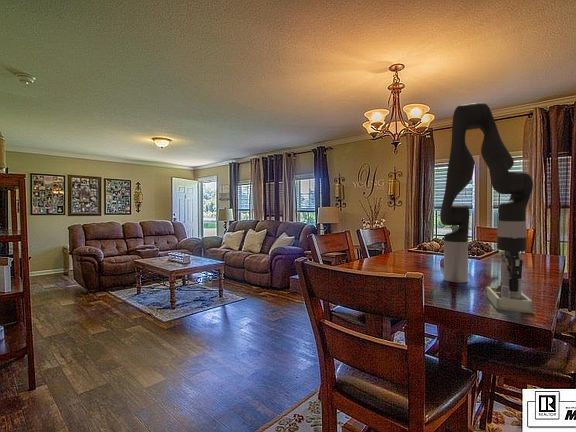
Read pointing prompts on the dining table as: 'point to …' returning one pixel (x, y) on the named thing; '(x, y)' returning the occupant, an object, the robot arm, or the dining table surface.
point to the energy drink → (505, 284)
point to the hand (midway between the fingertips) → (510, 288)
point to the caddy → (509, 302)
